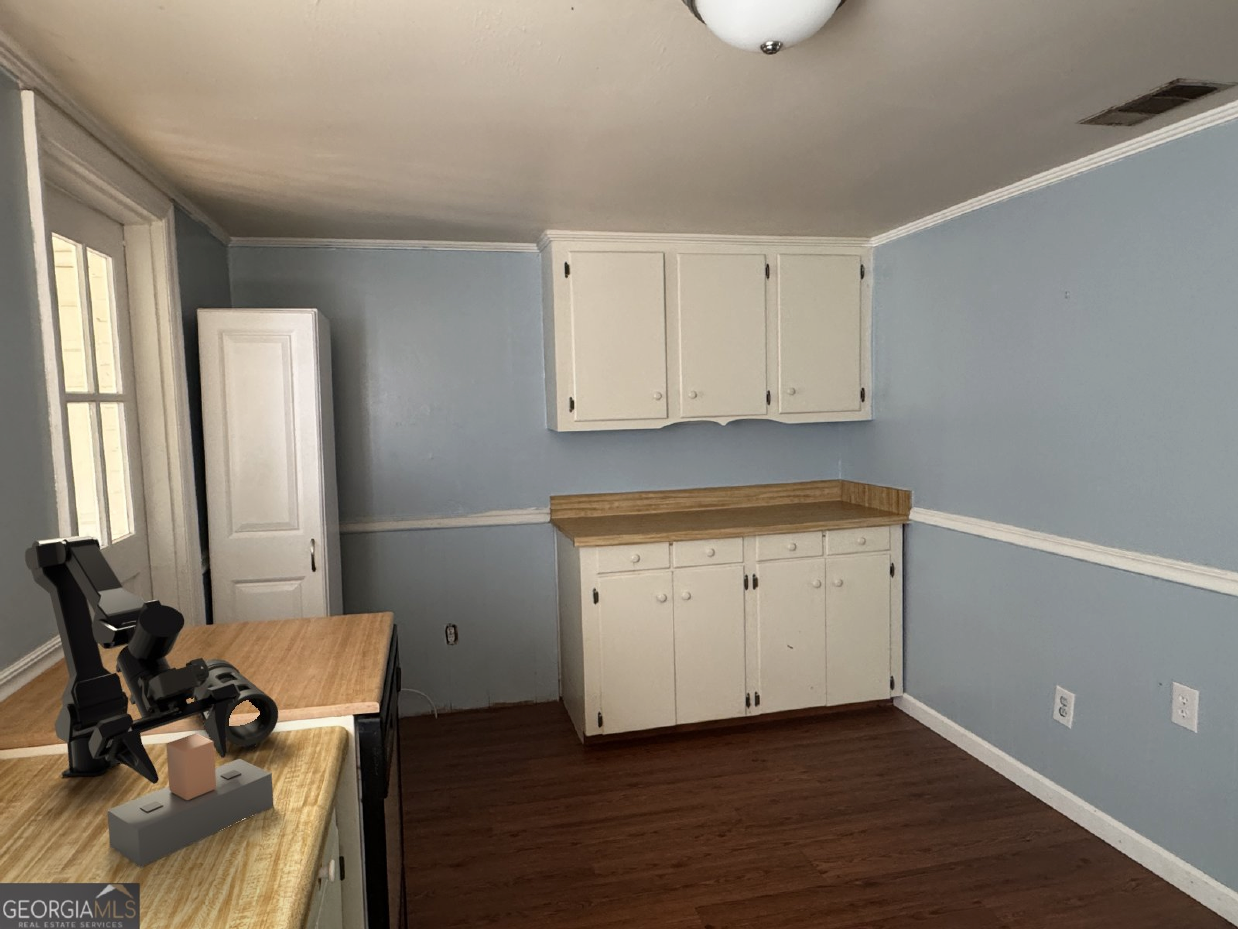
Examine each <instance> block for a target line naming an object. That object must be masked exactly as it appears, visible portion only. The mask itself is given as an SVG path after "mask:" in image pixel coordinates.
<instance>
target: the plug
mask: <svg viewBox="0 0 1238 929" xmlns="http://www.w3.org/2000/svg"><path fill="white" fill-rule="evenodd" d="M165 746H166V759H167V773H168V774H167V775H168V786H169V791H171V792H172V793H174V794H176V795H178V796H180V797H182V798H183V799H185V800H189V799H192V798H194V797H197V796H199V795H201V794H204V793H206V792H209V791H211V790H214V789H216V773H215V768H216V761H215V760H216V759H215V747H214V741H212V740H210V738H208V737H205V736H202V735H200V734H199V733H197V732H195V733H192V734H189V735H187V736H183V737H181V738H179V739H175V740H173V741H169V742H167V743H166V745H165Z"/></svg>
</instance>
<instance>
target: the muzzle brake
mask: <svg viewBox="0 0 1238 929" xmlns="http://www.w3.org/2000/svg"><path fill="white" fill-rule="evenodd" d="M204 661H205V663H206V665H207V667H208V670H209V677H208V678H206V679H205V680H203V681H200V682H199V687H194V688H193V689H191V691H192V693H193V694H192V696H191V699H193V698H194V701H198V700H201V699H202V697H203V695H204V693H205V692H206V690H207V689H208V688H211V687H214V686H218V685H221V684H224V683H227V682H231V683H234V684H235V685H236V686H237V687H238V689H239V691H240V693H241V695H240V697H239V699H238V700H237V702H236V704H235V705H234V707H233V709H232V711H233V710H234V709H235V707H236V706H237V705H239V704H240V703H242V702H243V701H246V700H249V702H251V703H252V705H254V706H255V707H256V708H258V710H259V711H260V715H259V716H258V717H257V719H255V720H254V721H252V722H250V723H247V724H245V725H240V726H229V718H230V715H231V713H232V711H231V712H230V713H229V714H227V716H226V723H225V729H226V741H228V742H230V743H231V744H233V745H235V746H238V747H245V748H246V750H247V751H249V750H253V749H256V748H257V744H259V743H261V742H262V741H264V740H266V738H268V737H269V736H270V735H271V734H272V733H273V731H274V729H275V728H276V726H277V723H278V720H279V710H278V708H279V707H278V706H277V703H276V702H275V700H274V699H273V698H272V697H270V696H269V695H268V694H267V693H265V692H264V691H263V690H261V689H260V688H259V687H258V686H256V685H255V684H254V683H253V682H252V681H251V680H249V679H248V678H247V677H246V676H244V675H243V674H241V672H240V671H239V670H238V669H237V667H235V666H234V665H233V664H232V663H231V662H229V661H227V660H225V659H222V658H212V659H207V660H204Z"/></svg>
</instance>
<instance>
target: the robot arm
mask: <svg viewBox="0 0 1238 929" xmlns="http://www.w3.org/2000/svg"><path fill="white" fill-rule="evenodd" d="M24 554H25V555H24V560H25V564H26V567H27V569H28V570H30V571H31V574H32V578H33V581H34V582H35V583H36V584H38V586H40V587H41V588H42V589H43V590H45V591H46V592H47V593H49V596H50V599H51V604H52V610H53V612H54V617H55V620H56V626H57V630H58V633H59V639H60V643H61V647H62V650H63V655H64V660H65V664H66V667H67V672H68V677H69V679H68V681H67V683H66V686H65V688H64V691H63V693H62V696H61V702H62V706H61V709H60V710H59V714H58V715H57V717H56V719H55V722H54V730H55V733H56V735H55V736H56V738H58V739H60V740H62V741H64V742H65V743H66V744H67V747H66V748H67V758H68V759H67V760H68V768H67V769H65V770H63V771H62V772H61V776H63V777H81V776H82V777H83V776H84V777H89V776H90V777H93V776H94V777H95V776H96V777H98V776H101V775H103V774H104V773H106V772H107V771H109V770H110V769H112V768H114V767H115V766H116V765H118V764H122V765H124V766H126V767H128V768H130V769H132V770H133V771H134V772H136V773H138V774H139V775H141V776H142V777H143V778H145V779H146V780H147V781H149V782H150V783H152V784H154V785H155V784H157V783H158V782H159V780H160V779H159V775H158V772H157V770H156V769H157V768H156V767H155V766H154V764H153V761H152V759H151V758H150V756H149V754H148V752H147V750H146V748H145V746H144V744H143V741H142V736H141V734H142V733H145V732H148V731H151V730H153V729H154V730H155V729H157V728H160V727H163V726H166V725H170V724H173V723H175V722H178V721H179V722H180V721H182V720H185V719H187V718H191V717H194V716H196V715H197V716H198V715H199V716H200V718H201V720H204V723H203V725H202V727H203V729H204V731H205V733H206V734H207V736H208V737H209V738H208V739H210V740H212V741H214V750H215V752H217V753H218V755H219V756H220V757H221V758H222V759H223V758H226V756H227V754H228V752H227V751H228V750H227V749H228V748H227V738H226V729H225V723H226V716H227V714H229V713H230V712H231V711H232V709H233V707H234V705H235V704H236V702H237V700H238V699H239V697H240V695H241V693H240V691H239V689H238V687H237V686H236V685H235V684H234V683H231V682H227V683H224V684H221V685H218V686H214V687H211V688H208V689H207V690H206V692H205V693H204V695H203V697H202V699H201V700H198V701H194V702H191V703H190V702H189V703H188V702H187V701H188V699H189V698H191V696H192V694H193V693H192V691H191V689H193V688H194V687H199V682H200V681H203V680H205V679H206V678H208V677H209V670H208V667H207V665H206V663H205V661H206V660H205V659H204V658H203V657H199V658H194V659H190V660H189V662H186V663H185V666H183V667H178V668H176V667H172V668H171V665H170V664H169V662H168V660H167V658H166V656H168V655H169V654H170V653H171V651H173V648H174V646H175V644H176V643H177V641H178V638H179V636H180V634H181V632H182V630H183V627H184V626H185V617H184V615H183V613H182V612H180V611H178V610H177V609H176V608H174V607H172V606H169V605H164V604H162V603H161V601H160V600H159V599H154V600H149V601H145V599H143V597H141V596H139V595H137V594H135V593H132V592H130V591H127V589H126V588H125V587H124V585H123V584H122V582H121V581H120V580H119V578H118V576H117V575H116V573H115V572H114V570H113V569H112V566H111V565H110V563H109V562H108V560H107V559H106V557H105V556H104V554H103V552H102V551H101V546H100V542H99V539H98V538H97V537H96V536H90V535H88V536H87V535H86V536H79V535H72V536H63V537H56V538H47V539H40V540H34V542H33V543H32V545H31V547H28V548H27V549H26V550H25V552H24ZM89 605H90V606H91V609H92V611H93V612H94V615H93V619H92V614H91V610H90V607H89ZM99 645H100V647H101V648H102V649H104V650H107V649H108V650H109V649H111V650H112V649H116V648H118V647H123V646H124V647H123V648H122V649H121V650H120V651H119V652H118V655H117V657H116V665H115V671H116V672H111V671H110V670H108V669H107V668H106V667H104V664H103V659H102V655H101V652H100V647H99ZM118 673H121V675H122V677H123V678H124V680H125V683H126V685H127V688H128V690H129V691H130V697H128V695H127V693H126V692H125V690H124V689H123V687H122V682H121V677H120V675H119V674H118ZM129 702H130V705H133V706H134V705H136V708H137V710H138V712H139V714H140V718H137V719H134V718H133V716H132V715H131V714H129V713H128V711H129V710H128V709H129V708H128V707H129Z"/></svg>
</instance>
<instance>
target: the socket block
mask: <svg viewBox="0 0 1238 929" xmlns="http://www.w3.org/2000/svg"><path fill="white" fill-rule="evenodd" d="M215 773H216V789H214V790H211V791H209V792H206V793H204V794H201V795H199V796H197V797H194V798H192V799H189V800H185V799H183V798H182V797H180V796H178V795H176V794H174V793H172V792H171V791H169V785H168V786H166V787H162V788H161V789H158V790H156V791H153V792H151V793H150V792H149V793H148V794H144V795H143V796H139V797H138V798H134V799H132V800H129V801H126V802H124V803H122V804H119V805H117V806H114V807H112V808H109V809H107V826H108V827H107V828H108V839H109V846H110V848H112V849H113V848H114V849H113V850H115V851H116V852H118V853H119V854H121V855H122V856H123V857H125V858H126V859H128V860H129V861H130V862H132V863H134V864H135V865H136V866H138V867H139V868H140V869H141V868H142V867H144V866H147V865H149V864H151V863H154V862H156V861H157V860H159V859H163V858H165V857H167V856H168V855H170V854H173V853H176V852H177V851H180V850H183V849H184V848H187V847H188V845H189V846H191V845H192V844H195V843H198V842H200V841H202V840H203V838H204V839H206V838H208V837H210V836H213V835H214V833H215V834H217V833H218V831H219V832H221V831H223V830H225V829H224V828H226V827H228V826H230V825H232V826H234V825H236V824H237V823H236V822H238V821H241V820H242V819H244V818H247V819H249V818H248V817H250V816H252V815H254V816H255V814H256V815H258V814H260V813H262V811H263V812H265V811H267V810H269V809H271V808H274V793H273V774H272V772H269V771H267V770H265V769H263V768H261V767H258V766H256V765H255V764H252V763H249V762H248V761H245V760H243V759H241V758H238V759H235V760H232V761H230V762H228V763H225V764H222V765H219V766H217V767H215ZM252 817H253V816H252ZM250 818H251V817H250ZM241 822H242V821H241ZM235 823H236V824H235ZM233 824H234V825H233ZM230 827H231V826H230ZM228 828H229V827H228ZM222 829H223V830H222ZM226 829H227V828H226ZM220 830H221V831H220ZM216 832H217V833H216ZM209 835H210V836H209ZM207 836H208V837H207ZM201 839H202V840H201Z"/></svg>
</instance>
